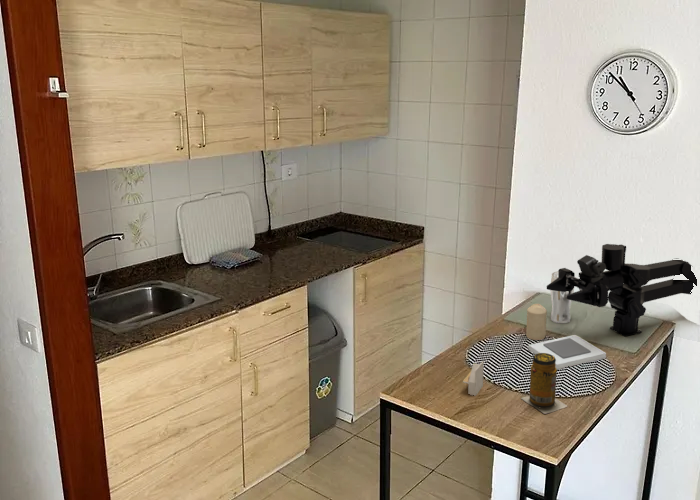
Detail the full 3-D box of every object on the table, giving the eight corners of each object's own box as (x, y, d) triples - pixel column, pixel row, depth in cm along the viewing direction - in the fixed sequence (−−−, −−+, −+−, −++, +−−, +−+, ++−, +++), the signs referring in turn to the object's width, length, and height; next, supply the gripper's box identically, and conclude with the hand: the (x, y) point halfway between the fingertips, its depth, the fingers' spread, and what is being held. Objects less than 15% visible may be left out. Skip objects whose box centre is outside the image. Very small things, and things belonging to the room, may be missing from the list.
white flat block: (575, 339, 191) (575, 333, 190) (605, 358, 179) (606, 351, 179) (528, 349, 186) (528, 343, 185) (556, 369, 174) (557, 362, 174)
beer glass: (575, 323, 201) (578, 278, 197) (552, 324, 202) (554, 279, 197) (568, 314, 208) (570, 270, 203) (546, 315, 208) (548, 271, 204)
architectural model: (462, 394, 165) (462, 368, 163) (472, 382, 171) (472, 356, 169) (475, 397, 164) (475, 371, 161) (484, 384, 169) (485, 359, 167)
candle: (546, 340, 191) (547, 309, 188) (526, 340, 192) (528, 308, 189) (544, 332, 196) (546, 302, 193) (525, 332, 197) (527, 301, 194)
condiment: (543, 391, 164) (545, 348, 161) (567, 406, 157) (570, 362, 153) (520, 399, 161) (522, 355, 158) (544, 415, 154) (546, 369, 150)
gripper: (581, 247, 193) (536, 256, 188) (627, 263, 176) (578, 274, 171) (581, 282, 196) (537, 292, 192) (625, 302, 179) (578, 313, 175)
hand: (556, 292), depth 182 cm, fingers open, 9 cm apart
